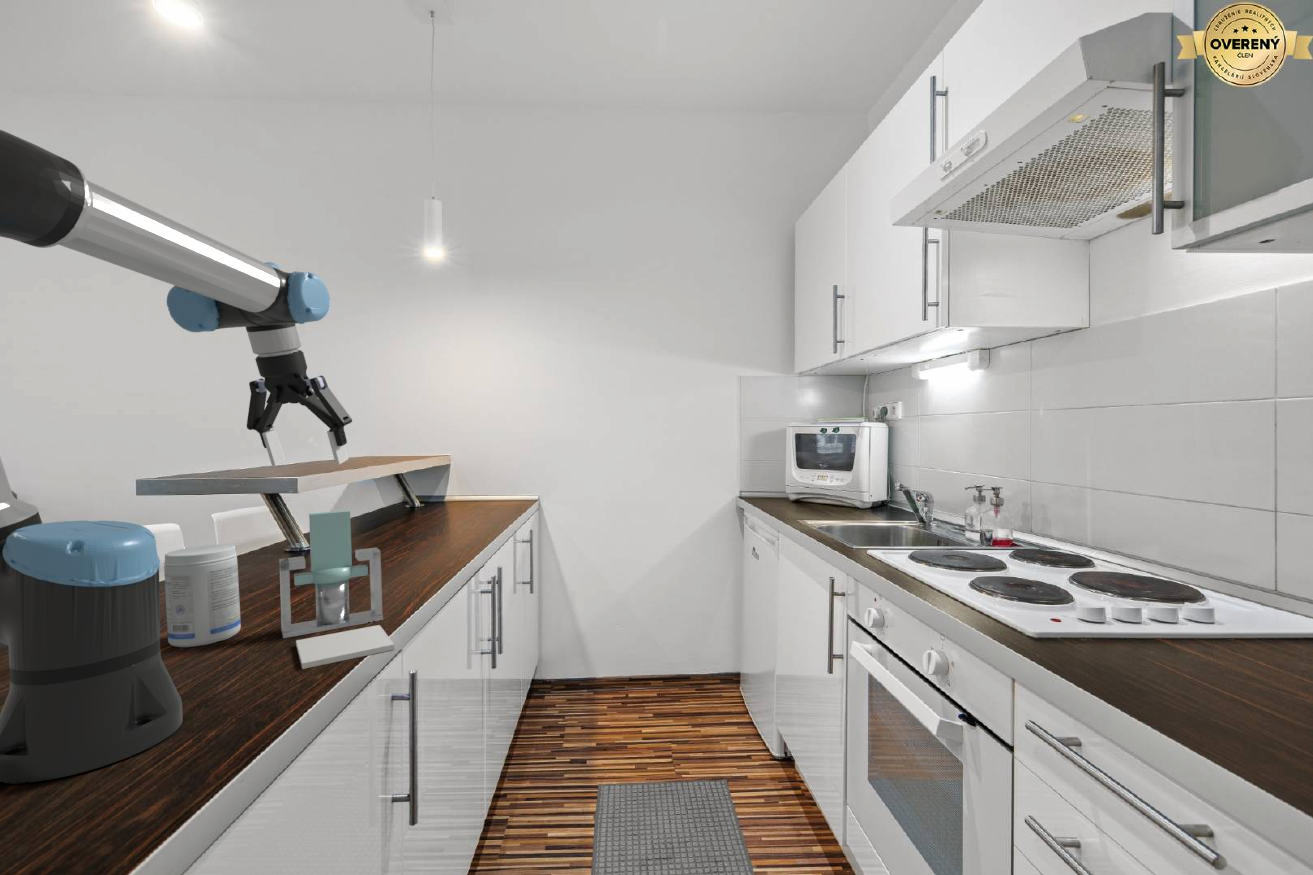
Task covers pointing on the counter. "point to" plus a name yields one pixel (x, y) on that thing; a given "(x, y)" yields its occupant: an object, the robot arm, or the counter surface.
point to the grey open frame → (331, 598)
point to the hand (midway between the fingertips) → (310, 462)
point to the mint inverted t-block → (330, 550)
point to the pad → (343, 646)
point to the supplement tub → (202, 595)
